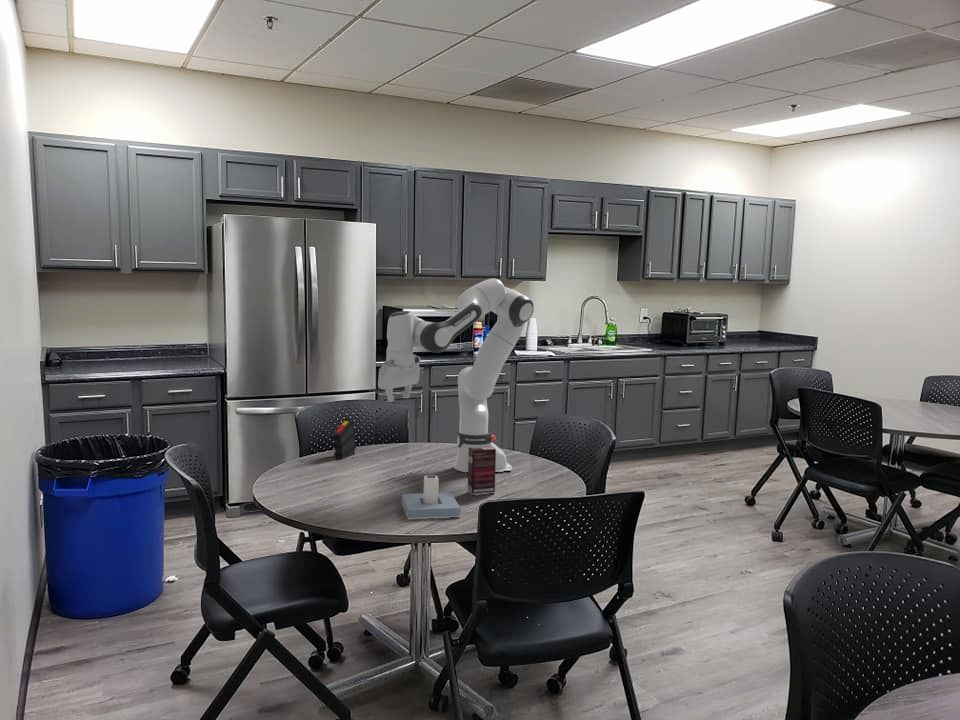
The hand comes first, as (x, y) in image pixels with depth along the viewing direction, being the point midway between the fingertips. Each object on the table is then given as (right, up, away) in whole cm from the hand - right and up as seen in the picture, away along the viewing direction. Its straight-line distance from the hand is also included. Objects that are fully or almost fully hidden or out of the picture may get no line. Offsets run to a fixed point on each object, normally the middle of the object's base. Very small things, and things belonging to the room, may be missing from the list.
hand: (398, 399), depth 244 cm
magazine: (-27, -26, +44) cm, 58 cm away
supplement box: (+28, -32, +2) cm, 43 cm away
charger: (+12, -33, -18) cm, 40 cm away
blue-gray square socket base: (+12, -34, -18) cm, 40 cm away
